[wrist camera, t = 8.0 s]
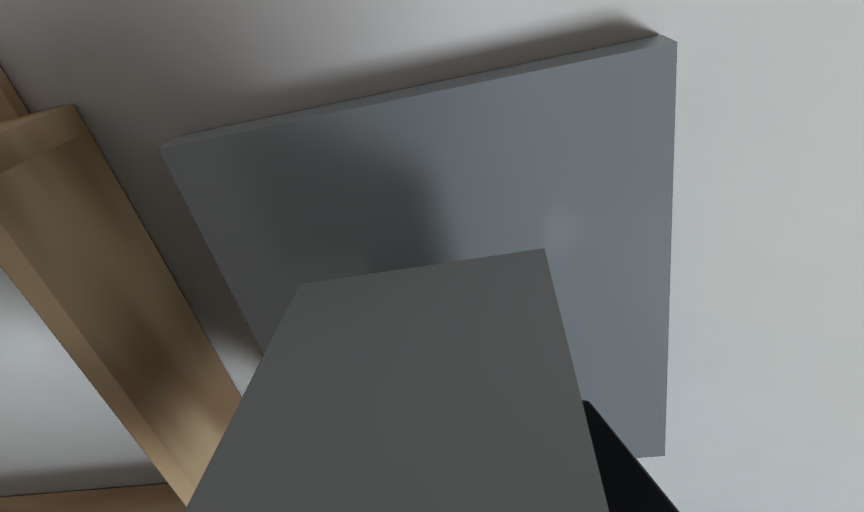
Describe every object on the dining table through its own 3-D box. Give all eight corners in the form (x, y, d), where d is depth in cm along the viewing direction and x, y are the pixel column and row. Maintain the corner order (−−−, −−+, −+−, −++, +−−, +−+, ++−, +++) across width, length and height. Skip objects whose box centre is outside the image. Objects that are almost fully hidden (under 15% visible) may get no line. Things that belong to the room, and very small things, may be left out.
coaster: (655, 432, 15) (664, 455, 14) (334, 460, 16) (328, 481, 16) (661, 34, 9) (676, 42, 9) (177, 136, 11) (157, 148, 10)
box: (570, 468, 12) (627, 769, 7) (383, 482, 12) (337, 763, 8) (543, 247, 9) (616, 540, 4) (299, 283, 9) (157, 564, 5)
